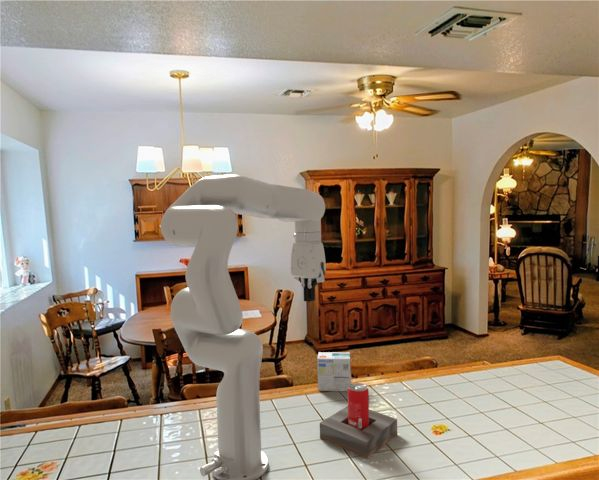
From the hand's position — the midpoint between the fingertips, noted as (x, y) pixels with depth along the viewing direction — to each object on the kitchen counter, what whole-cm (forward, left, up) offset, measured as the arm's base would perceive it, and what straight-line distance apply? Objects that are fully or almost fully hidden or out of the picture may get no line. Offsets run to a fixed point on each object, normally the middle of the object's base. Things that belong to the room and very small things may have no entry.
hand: (309, 300), depth 125 cm
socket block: (-6, -21, -31) cm, 38 cm away
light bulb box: (+14, +2, -31) cm, 35 cm away
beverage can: (-6, -21, -30) cm, 37 cm away
